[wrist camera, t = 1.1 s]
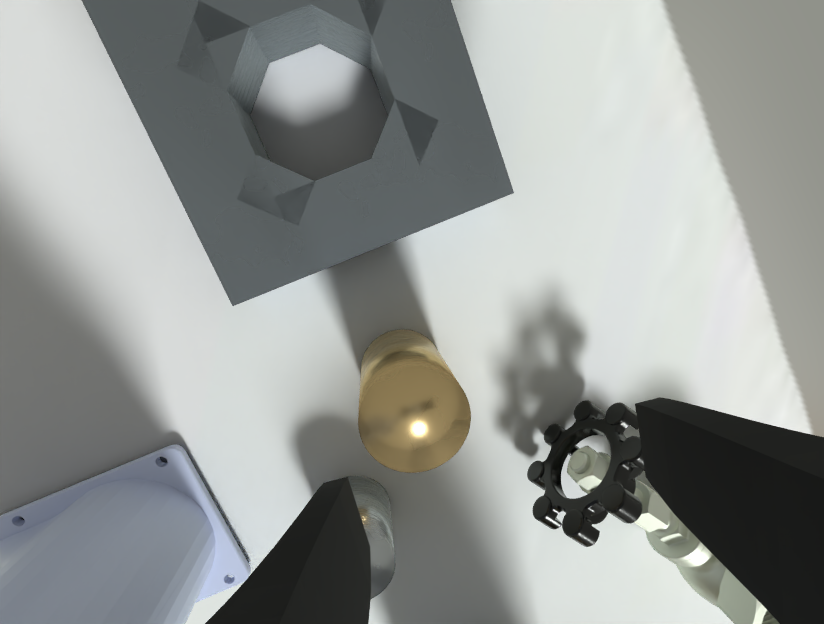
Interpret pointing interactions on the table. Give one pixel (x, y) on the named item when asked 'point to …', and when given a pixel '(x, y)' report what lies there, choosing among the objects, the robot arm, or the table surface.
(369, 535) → the sleeve
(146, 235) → the table surface
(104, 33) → the plate
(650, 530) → the valve
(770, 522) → the robot arm
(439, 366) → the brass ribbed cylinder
